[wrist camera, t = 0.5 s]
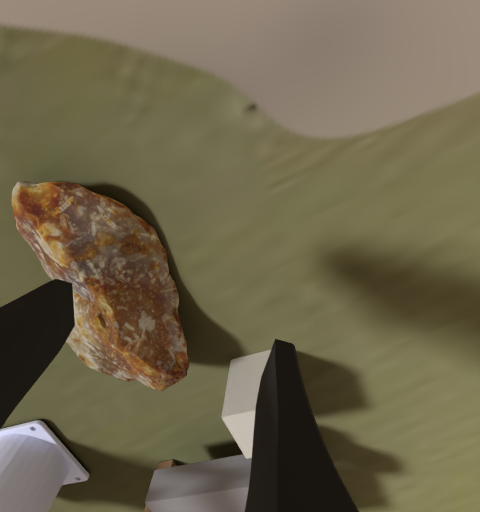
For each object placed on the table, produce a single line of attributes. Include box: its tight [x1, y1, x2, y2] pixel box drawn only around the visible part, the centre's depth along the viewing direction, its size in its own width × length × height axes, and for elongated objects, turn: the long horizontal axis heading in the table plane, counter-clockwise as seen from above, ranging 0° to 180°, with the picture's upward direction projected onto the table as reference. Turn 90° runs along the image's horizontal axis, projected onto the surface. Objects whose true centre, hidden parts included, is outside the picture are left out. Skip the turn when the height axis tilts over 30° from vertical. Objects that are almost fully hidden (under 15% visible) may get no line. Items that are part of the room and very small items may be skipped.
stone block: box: [222, 350, 271, 459], centre depth 25 cm, size 4×4×5 cm
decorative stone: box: [12, 181, 189, 391], centre depth 23 cm, size 10×4×15 cm
